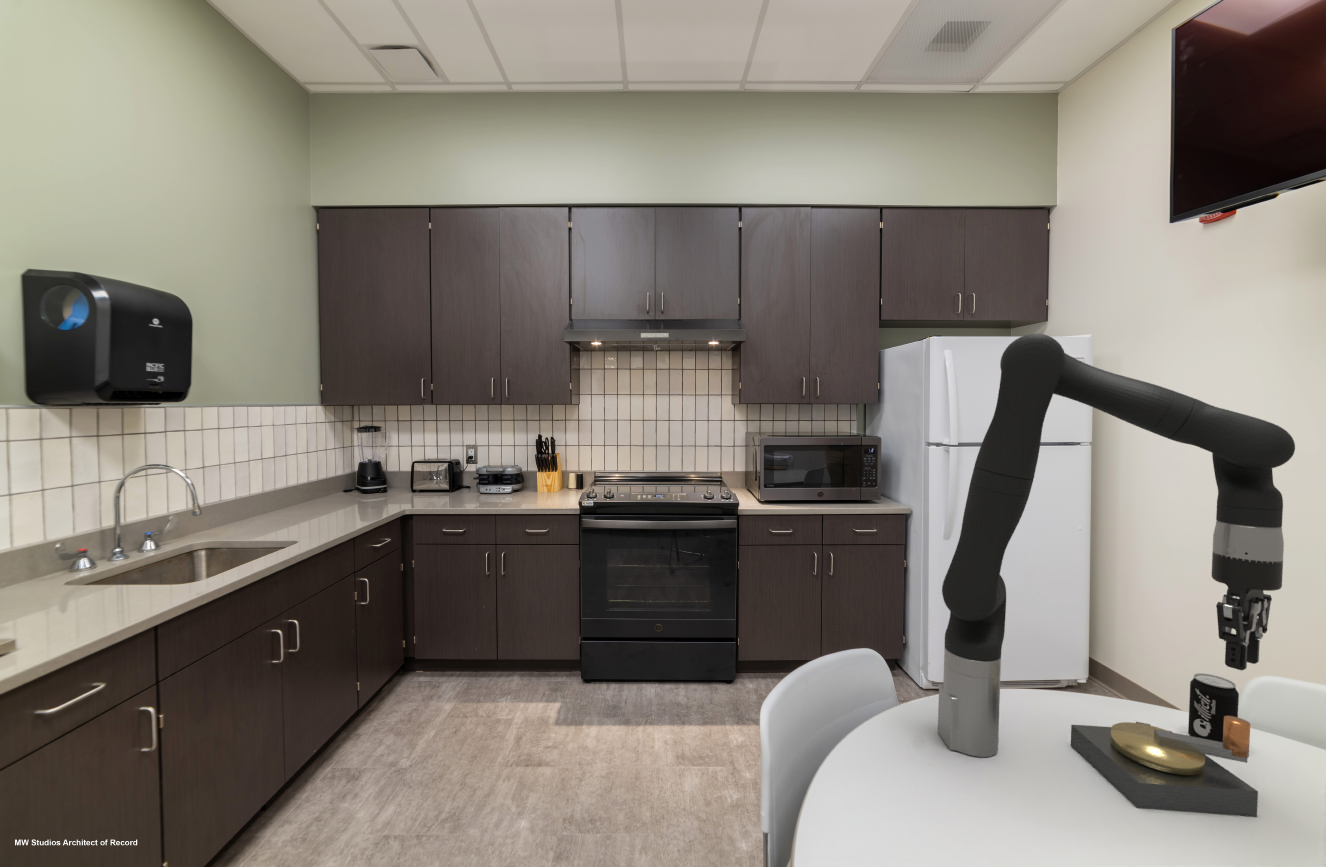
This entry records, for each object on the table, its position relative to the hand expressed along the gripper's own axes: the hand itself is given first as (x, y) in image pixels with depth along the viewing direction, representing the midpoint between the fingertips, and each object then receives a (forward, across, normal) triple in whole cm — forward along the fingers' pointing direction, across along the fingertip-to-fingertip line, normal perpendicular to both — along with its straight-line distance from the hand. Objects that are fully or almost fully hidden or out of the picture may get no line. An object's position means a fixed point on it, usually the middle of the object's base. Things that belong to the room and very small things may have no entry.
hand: (1241, 664), depth 88 cm
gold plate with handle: (+19, +2, +8) cm, 21 cm away
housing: (+23, 0, +10) cm, 25 cm away
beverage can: (+24, +23, +10) cm, 34 cm away
